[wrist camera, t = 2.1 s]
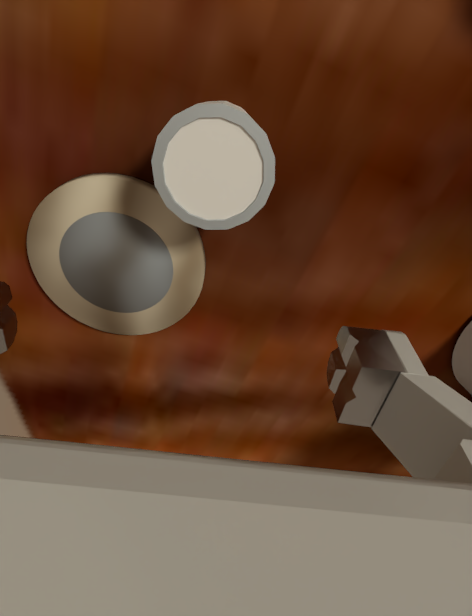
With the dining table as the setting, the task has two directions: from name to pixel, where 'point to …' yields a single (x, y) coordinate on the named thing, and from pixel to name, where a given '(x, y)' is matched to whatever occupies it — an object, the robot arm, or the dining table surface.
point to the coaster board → (115, 254)
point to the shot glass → (213, 165)
